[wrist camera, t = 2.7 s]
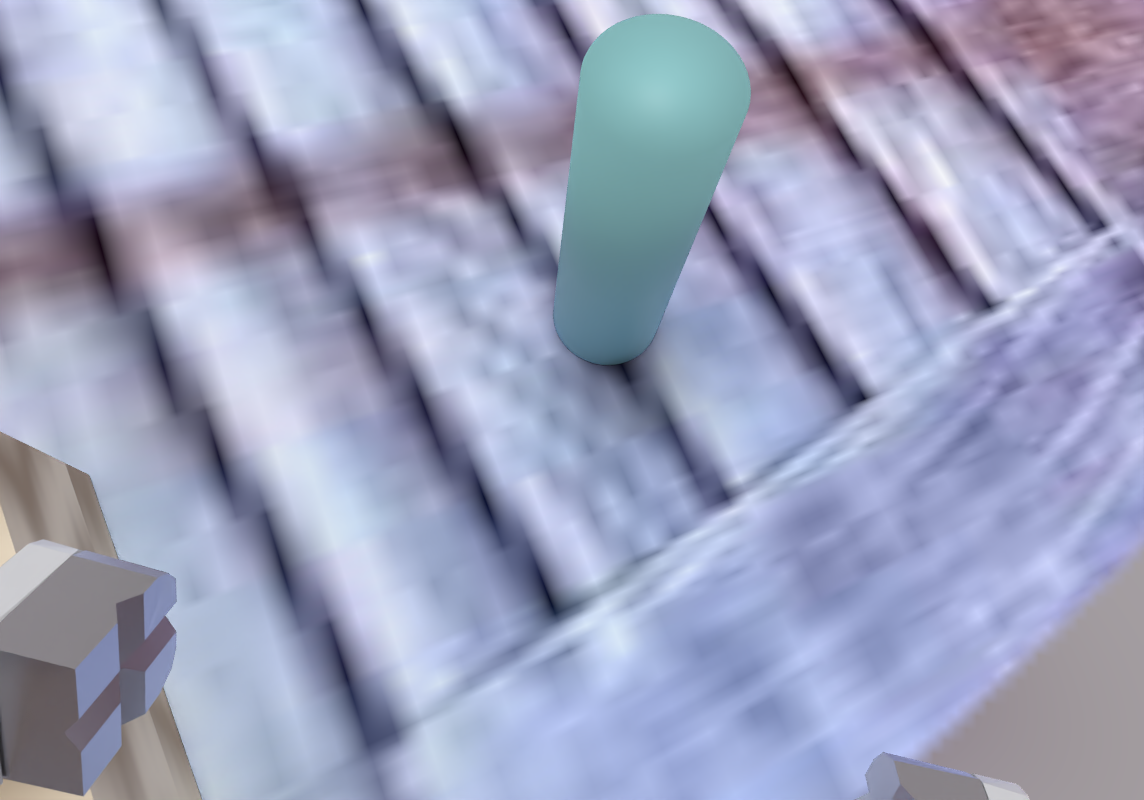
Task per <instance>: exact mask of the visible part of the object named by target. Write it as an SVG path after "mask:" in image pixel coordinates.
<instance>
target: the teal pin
mask: <svg viewBox="0 0 1144 800" xmlns="http://www.w3.org/2000/svg"><path fill="white" fill-rule="evenodd" d="M750 95H751V89H750V81H749V77H748V73H747V70H746V68H745V65H744V63H743V61H742V60H741V58H740V56H739V55H738V53H737V52H736V51H735V49H734V48H733V47H732V46H731V45H730V44H729V43H728V42H727V41H726V40H725V39H724V38H723V37H722V36H721V35H719V34H718V33H717V32H715V31H713V30H712V29H710V28H709V27H707V26H705V25H703V24H701V23H699V22H696V21H693V20H691V19H688V18H684V17H680V16H674V15H668V14H649V15H642V16H636V17H633V18H629V19H626V20H624V21H621V22H619V23H617V24H615V25H613V26H612V27H610V28H608V29H607V30H606V31H604V32H603V33H602V34H601V35H600V36H599V37H598V38H597V39H596V40H595V41H594V42H593V44H592V45H591V46H590V48H589V49H588V51H587V53H586V55H585V57H584V60H583V63H582V66H581V73H580V81H579V90H578V99H577V108H576V117H575V125H574V134H573V143H572V152H571V161H570V169H569V178H568V187H567V196H566V205H565V213H564V222H563V231H562V240H561V249H560V257H559V266H558V275H557V284H556V293H555V302H554V310H553V319H554V325H555V328H556V331H557V334H558V336H559V338H560V339H561V341H562V342H563V344H564V345H565V346H566V347H567V348H568V349H569V350H570V351H571V352H572V353H574V354H575V355H576V356H578V357H580V358H581V359H583V360H586V361H588V362H591V363H595V364H601V365H615V364H621V363H625V362H627V361H630V360H632V359H634V358H636V357H637V356H639V355H640V354H641V353H642V352H643V351H645V350H646V349H647V347H648V346H649V345H650V343H651V342H652V340H653V338H654V336H655V334H656V331H657V329H658V326H659V324H660V322H661V319H662V317H663V314H664V312H665V309H666V307H667V305H668V302H669V300H670V297H671V295H672V293H673V290H674V288H675V285H676V283H677V280H678V278H679V276H680V273H681V271H682V268H683V266H684V264H685V261H686V259H687V256H688V254H689V252H690V249H691V247H692V244H693V242H694V239H695V237H696V235H697V232H698V230H699V227H700V225H701V223H702V220H703V218H704V215H705V213H706V210H707V208H708V206H709V203H710V201H711V198H712V196H713V194H714V191H715V189H716V186H717V184H718V182H719V179H720V177H721V174H722V172H723V169H724V167H725V165H726V162H727V160H728V157H729V155H730V153H731V150H732V148H733V145H734V143H735V140H736V138H737V136H738V133H739V131H740V128H741V126H742V124H743V121H744V119H745V116H746V114H747V111H748V108H749V104H750Z"/></svg>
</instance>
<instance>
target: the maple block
mask: <svg viewBox="0 0 1144 800" xmlns="http://www.w3.org/2000/svg"><path fill="white" fill-rule="evenodd" d="M42 539H44V540H48V541H51V542H55V543H58V544H62V545H65V546H69V547H72V548H76V549H79V550H83V551H85V550H87V551H91V552H94V553H98V554H101V555H105V556H109V557H112V558H116V559H118V557H117V554H116V551H115V548H114V545H113V543H112V540H111V537H110V534H109V531H108V528H107V525H106V522H105V520H104V517H103V514H102V511H101V508H100V505H99V502H98V499H97V497H96V494H95V491H94V488H93V485H92V482H91V479H90V476H89V475H88V474H86V473H84V472H82V471H80V470H78V469H76V468H74V467H72V466H70V465H68V464H65V463H63V462H61V461H59V460H57V459H55V458H53V457H51V456H49V455H47V454H45V453H43V452H41V451H39V450H37V449H35V448H33V447H31V446H29V445H27V444H24V443H22V442H20V441H18V440H16V439H14V438H12V437H10V436H8V435H6V434H4V433H2V432H0V567H1V566H2V565H3V564H4V563H6V562H7V561H8V560H9V559H10V558H12V557H13V556H14V555H15V554H16V553H18V552H19V551H20V550H21V549H22V548H23V547H25V546H26V545H27V544H29V543H32V542H36V541H39V540H42ZM121 740H122V746H121V747H120V749H119V750H118V751H117V753H116V754H115V755H114V757H113V758H112V759H111V761H110V762H109V763H108V765H107V766H106V767H105V769H104V770H103V771H102V773H101V774H100V775H99V777H98V778H97V779H96V781H95V782H94V783H93V785H92V786H91V787H90V789H89V790H88V791H87V793H86V794H85V795H84V797H83V796H79V795H74V794H70V793H65V792H61V791H56V790H52V789H47V788H43V787H38V786H34V785H30V784H25V783H21V782H16V781H12V780H7V779H3V783H2V784H1V785H0V800H202V799H201V796H200V793H199V790H198V787H197V784H196V781H195V778H194V776H193V773H192V770H191V767H190V764H189V761H188V758H187V755H186V753H185V750H184V747H183V744H182V741H181V738H180V735H179V732H178V730H177V727H176V724H175V721H174V718H173V715H172V712H171V709H170V707H169V704H168V701H167V698H166V695H165V692H164V689H163V688H162V690H161V692H160V694H159V695H158V697H157V698H156V700H155V701H154V702H153V704H152V705H151V707H150V708H149V709H148V711H147V712H146V714H144V715H142V716H140V717H138V718H136V719H134V720H132V721H130V722H127V723H125V724H123V725H121Z"/></svg>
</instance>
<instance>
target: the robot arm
mask: <svg viewBox="0 0 1144 800" xmlns="http://www.w3.org/2000/svg"><path fill="white" fill-rule="evenodd" d="M176 602H177V599H176V578H174V577H173V576H171V575H170V574H169V573H166V572H163V571H159V570H155V569H152V568H148V567H145V566H141V565H137V564H134V563H130V562H127V561H123V560H119V559H116V558H112V557H109V556H105V555H101V554H98V553H94V552H91V551H87V550H85V551H83V550H79V549H76V548H72V547H69V546H65V545H62V544H58V543H55V542H51V541H48V540H44V539H42V540H39V541H36V542H32V543H29V544H27V545H26V546H25V547H23V548H22V549H21V550H20V551H19V552H18V553H16V554H15V555H14V556H13V557H12V558H10V559H9V560H8V561H7V562H6V563H4V564H3V565H2V566H1V567H0V785H1V784H2V783H3V779H7V780H12V781H16V782H21V783H25V784H30V785H34V786H38V787H43V788H47V789H52V790H56V791H61V792H65V793H70V794H74V795H79V796H83V797H84V795H85V794H86V793H87V791H88V790H89V789H90V787H91V786H92V785H93V783H94V782H95V781H96V779H97V778H98V777H99V775H100V774H101V773H102V771H103V770H104V769H105V767H106V766H107V765H108V763H109V762H110V761H111V759H112V758H113V757H114V755H115V754H116V753H117V751H118V750H119V749H120V747H121V746H122V740H121V725H123V724H125V723H127V722H130V721H132V720H134V719H136V718H138V717H140V716H142V715H144V714H146V712H147V711H148V709H149V708H150V707H151V705H152V704H153V702H154V701H155V700H156V698H157V697H158V695H159V694H160V692H161V690H162V688H163V686H164V683H165V681H166V679H167V677H168V675H169V673H170V670H171V668H172V664H173V659H174V655H175V650H176V630H175V629H174V627H173V626H172V625H171V623H170V622H169V620H168V619H167V618H166V616H165V615H166V614H167V613H168V611H169V610H170V609H171V608H172V606H173V605H174V604H175V603H176ZM865 776H866V781H867V785H868V790H869V793H867V794H865V795H863V796H861V797H859V798H857V799H855V800H1029V797H1028V795H1027V794H1026V792H1025V791H1024V790H1022V788H1021V787H1020V786H1019V785H1018V784H1015V783H1011V782H1006V781H1001V780H998V779H993V778H989V777H985V776H981V775H977V774H968V773H966V772H963V771H959V770H954V769H950V768H946V767H942V766H938V765H934V764H930V763H926V762H922V761H917V760H913V759H909V758H905V757H901V756H897V755H893V754H888V753H884V752H883V753H881V754H880V755H879V756H877V757H876V758H875V759H874V760H873V762H872V763H871V765H870V767H869V769H868V771H867V772H866V774H865Z"/></svg>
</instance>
